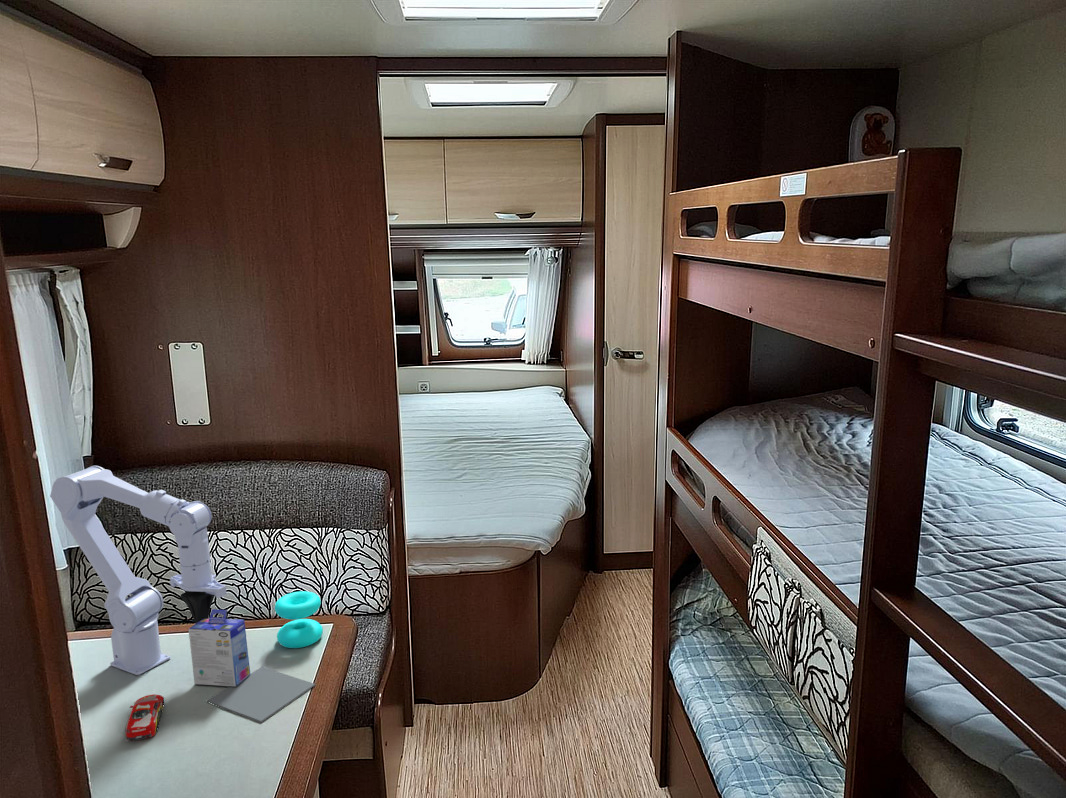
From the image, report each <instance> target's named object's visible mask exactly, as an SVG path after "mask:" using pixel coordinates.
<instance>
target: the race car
mask: <svg viewBox="0 0 1066 798" xmlns="http://www.w3.org/2000/svg"><path fill="white" fill-rule="evenodd" d="M163 705H164V706H165V697H164V696H162V695H160V694H155V693H154V694H148V695H144V696H142V697H139V698H138V699H137V700H136V701H134V703H133V705H129V708H131V712H130V715H129V717H128V720H127V724H126V727H125V739H126V741H128V742H134V741H140V740H145V739H149V738H152V737H153V736H155V735H156V734H157V733H158V730H157V728H158V729H159V726H160V723H159V722H161V719H162V716H163V715H162V714H163V712H162V711H164V707H163ZM160 718H161V719H160ZM158 725H159V726H158ZM156 732H157V733H156Z"/></svg>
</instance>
